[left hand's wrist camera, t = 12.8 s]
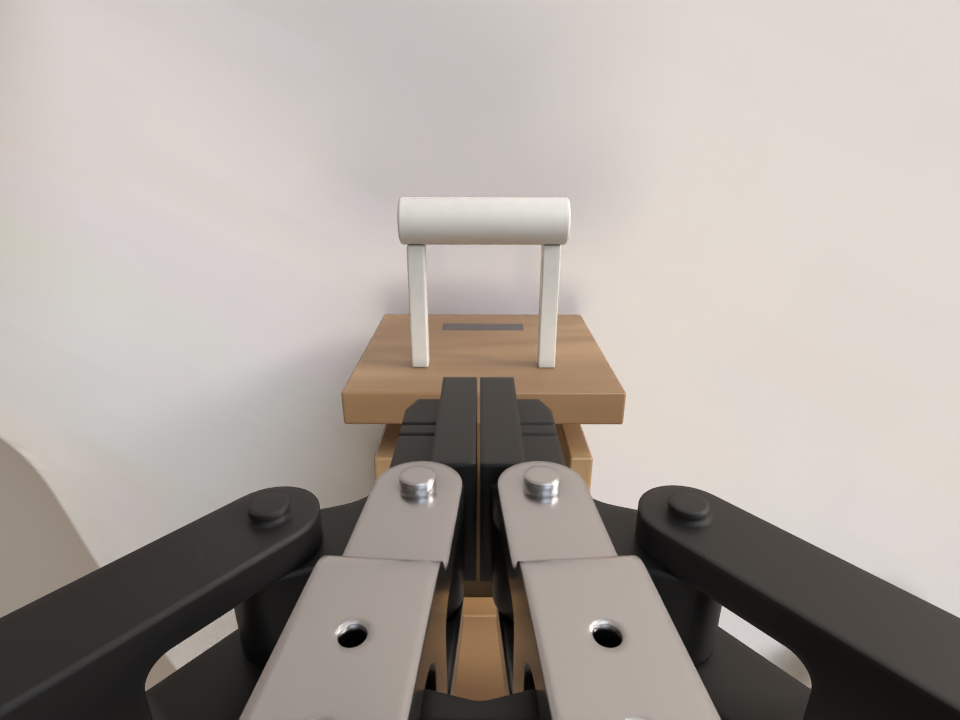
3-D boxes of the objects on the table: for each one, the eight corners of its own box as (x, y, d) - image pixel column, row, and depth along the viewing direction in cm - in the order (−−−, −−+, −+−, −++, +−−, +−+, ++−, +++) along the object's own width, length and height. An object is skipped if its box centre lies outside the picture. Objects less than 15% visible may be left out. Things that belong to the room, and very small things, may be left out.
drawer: (376, 183, 25) (322, 204, 16) (589, 183, 25) (646, 205, 16) (401, 591, 33) (374, 745, 25) (562, 591, 33) (590, 745, 25)
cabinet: (385, 458, 31) (338, 615, 21) (578, 458, 31) (627, 615, 21) (401, 696, 38) (371, 905, 27) (561, 696, 38) (591, 905, 27)
